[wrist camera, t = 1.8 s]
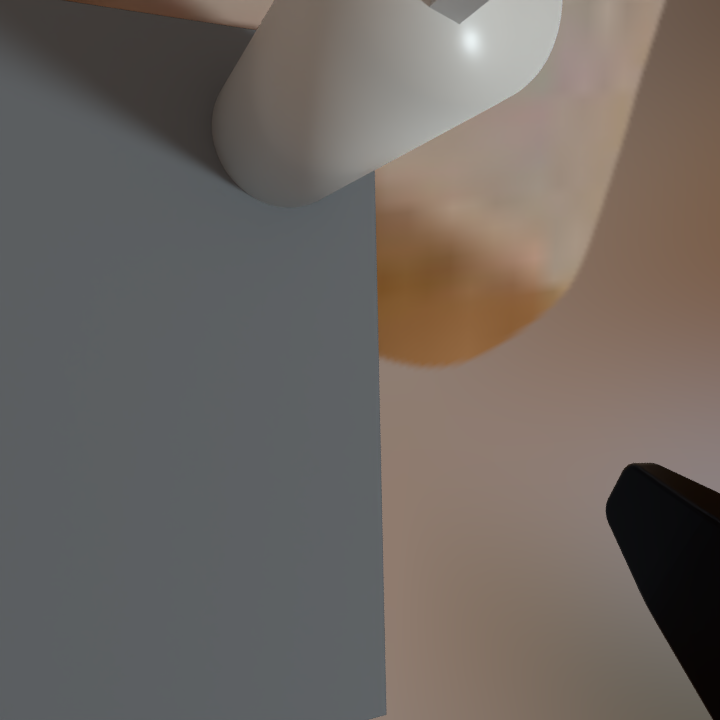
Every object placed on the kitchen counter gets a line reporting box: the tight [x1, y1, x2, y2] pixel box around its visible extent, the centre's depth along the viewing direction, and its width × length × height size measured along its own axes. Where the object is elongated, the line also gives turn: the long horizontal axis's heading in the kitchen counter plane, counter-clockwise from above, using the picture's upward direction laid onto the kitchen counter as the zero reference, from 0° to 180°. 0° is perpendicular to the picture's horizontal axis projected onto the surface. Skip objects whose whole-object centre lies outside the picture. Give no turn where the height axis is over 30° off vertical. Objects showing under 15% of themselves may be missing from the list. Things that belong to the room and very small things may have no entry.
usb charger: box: [212, 0, 562, 208], centre depth 15 cm, size 4×4×11 cm
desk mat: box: [0, 0, 386, 720], centre depth 19 cm, size 22×18×1 cm
